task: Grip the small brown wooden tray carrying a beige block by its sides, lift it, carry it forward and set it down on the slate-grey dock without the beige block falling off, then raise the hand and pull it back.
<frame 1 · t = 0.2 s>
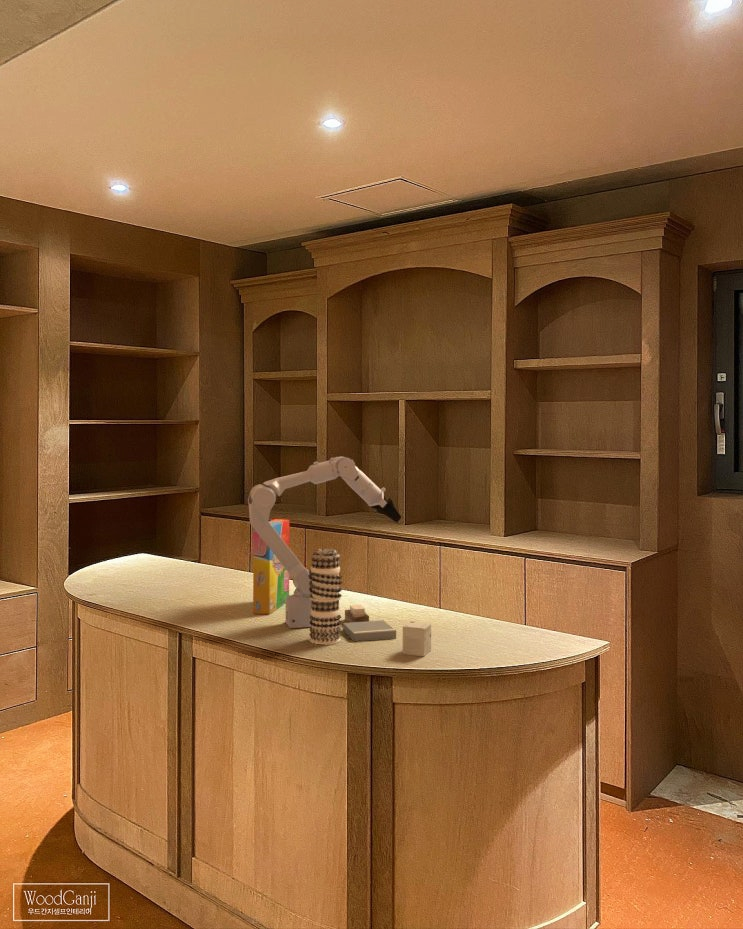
hand: (395, 517, 243), 31 cm above the table, fingers open, 7 cm apart
brown wooden tray: (356, 624, 239), on the table, touching beige block
skincare box: (416, 653, 210), on the table
game box: (271, 607, 258), on the table
beige block: (357, 616, 239), point 2 cm above the table, touching brown wooden tray
dock: (369, 633, 227), on the table
decorative candle: (325, 641, 220), on the table
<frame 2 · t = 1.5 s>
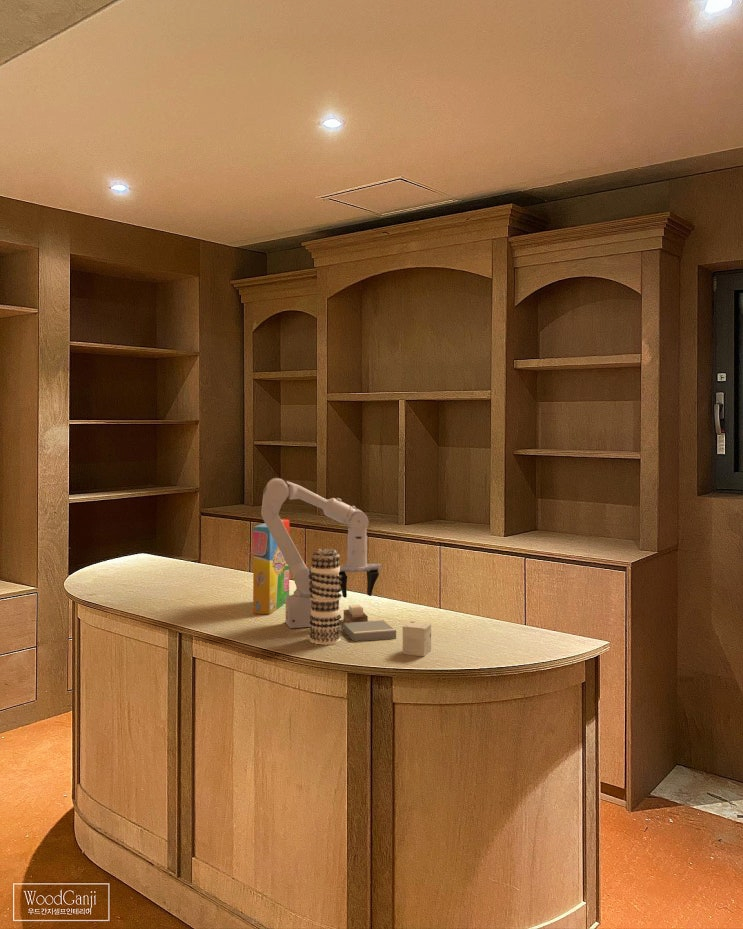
hand: (357, 596, 239), 8 cm above the table, fingers open, 7 cm apart
nothing on the table moved.
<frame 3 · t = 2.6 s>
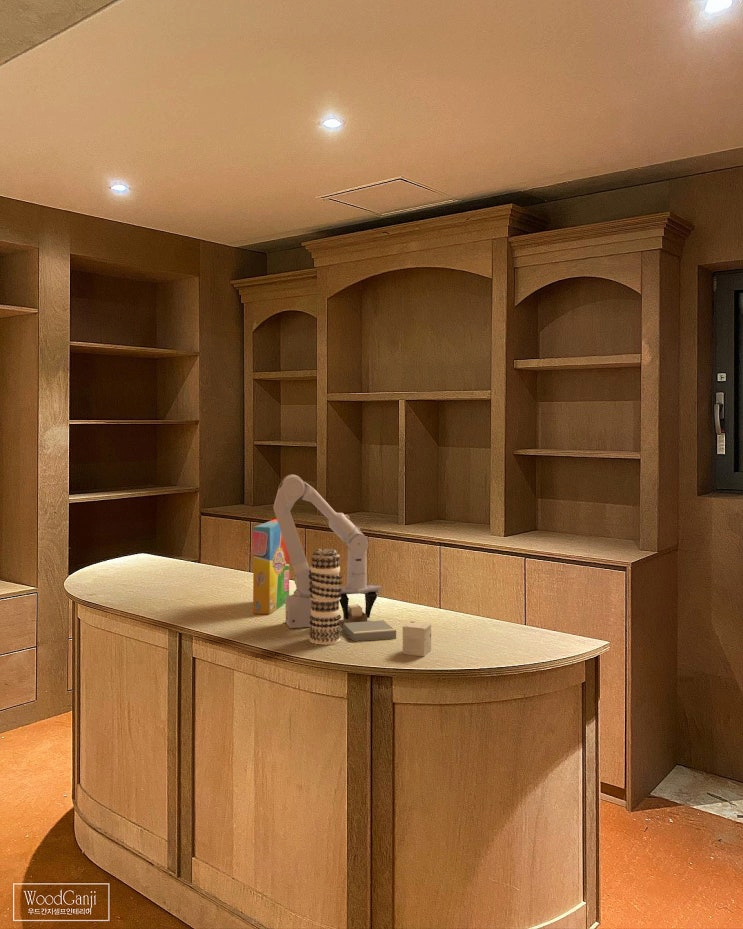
hand: (356, 617, 239), 1 cm above the table, fingers open, 6 cm apart
brown wooden tray: (355, 624, 239), on the table, touching beige block, gripper
everything else where it was.
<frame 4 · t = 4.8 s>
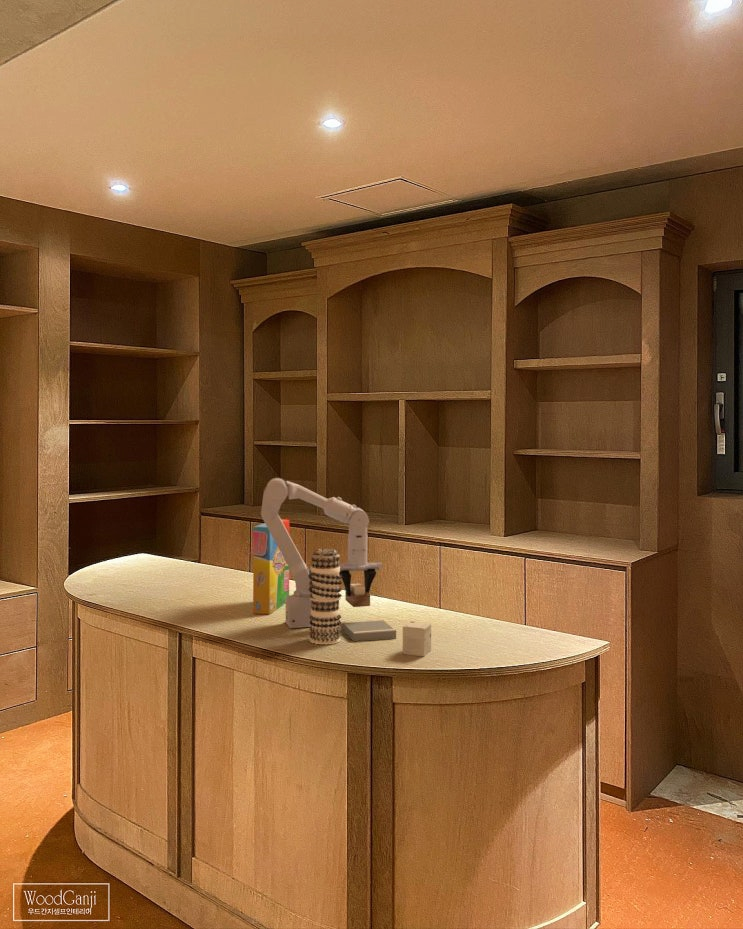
hand: (357, 595, 238), 8 cm above the table, fingers closed on brown wooden tray, 5 cm apart
brown wooden tray: (357, 603, 238), point 6 cm above the table, touching beige block, gripper
beige block: (357, 595, 238), point 8 cm above the table, touching brown wooden tray
everything else where it was.
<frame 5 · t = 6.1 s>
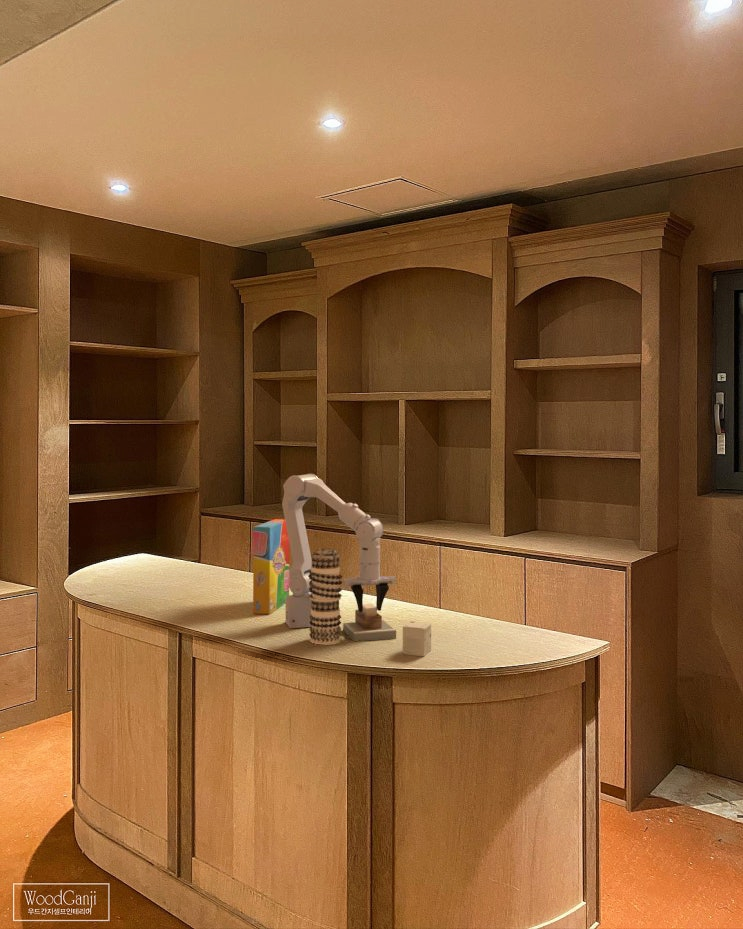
hand: (369, 610, 226), 7 cm above the table, fingers open, 5 cm apart
brown wooden tray: (368, 624, 229), point 2 cm above the table, touching beige block, dock
beige block: (368, 616, 230), point 4 cm above the table, touching gripper, brown wooden tray
everything else where it was.
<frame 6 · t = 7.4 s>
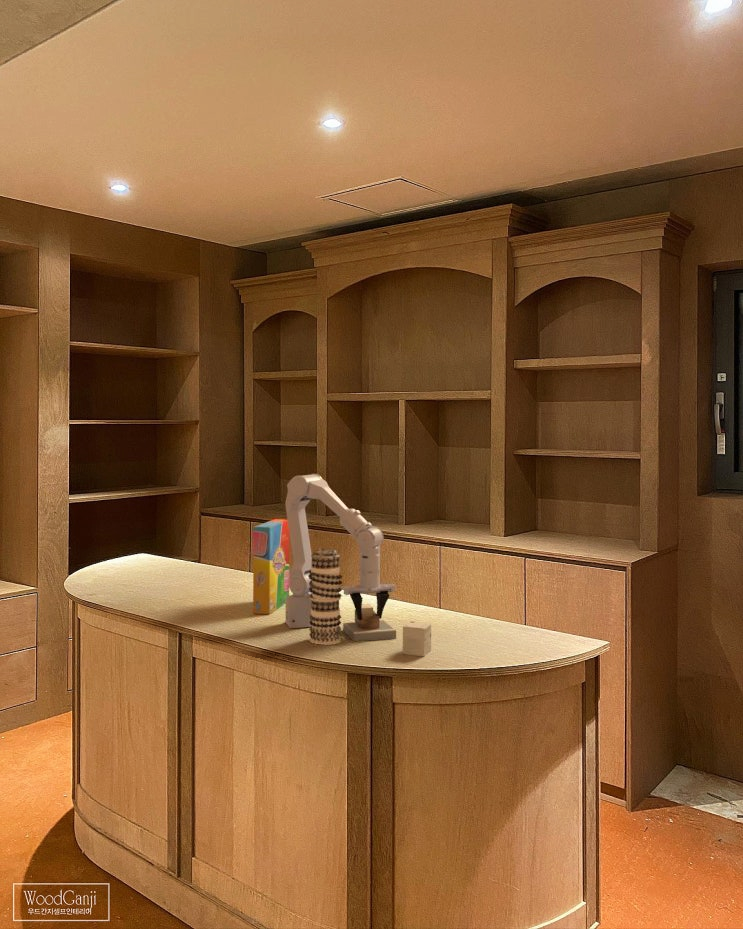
hand: (369, 618, 227), 4 cm above the table, fingers closed on brown wooden tray, 5 cm apart
brown wooden tray: (366, 624, 229), point 2 cm above the table, touching beige block, dock, gripper
beige block: (365, 616, 230), point 4 cm above the table, touching brown wooden tray
everything else where it was.
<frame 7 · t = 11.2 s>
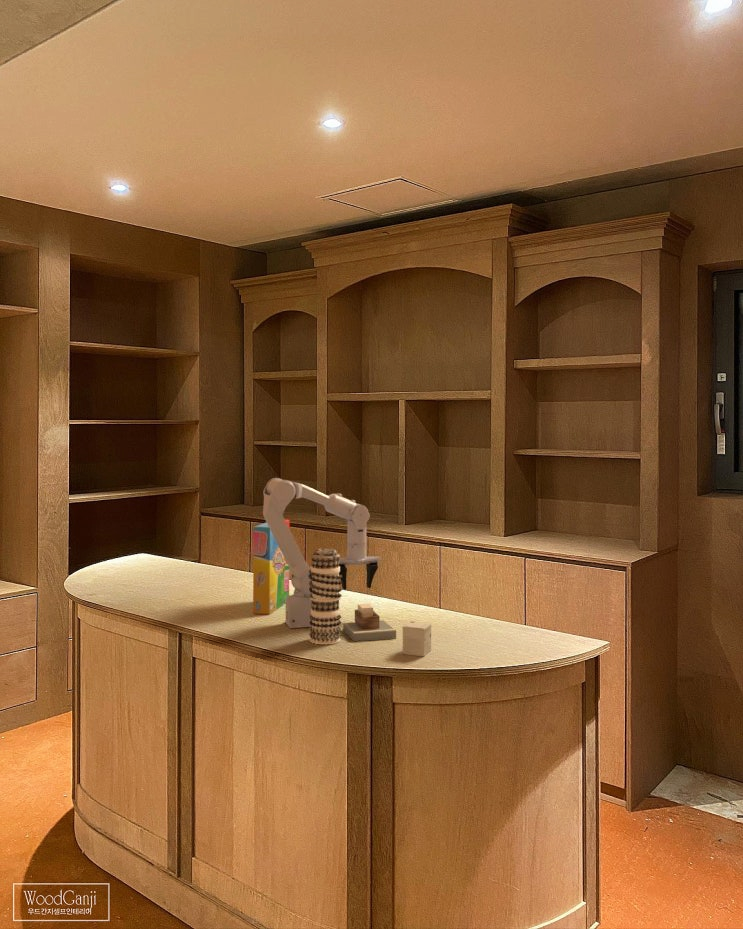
hand: (356, 588, 243), 9 cm above the table, fingers open, 7 cm apart
brown wooden tray: (366, 624, 229), point 2 cm above the table, touching beige block, dock
everything else where it was.
at the end: brown wooden tray inside the target area on the dock (2.5 cm from its centre), point 2.0 cm above the dock's base; beige block 1.0 cm off-centre on the brown wooden tray, point 2.2 cm above the brown wooden tray's base; the gripper is holding nothing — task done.
